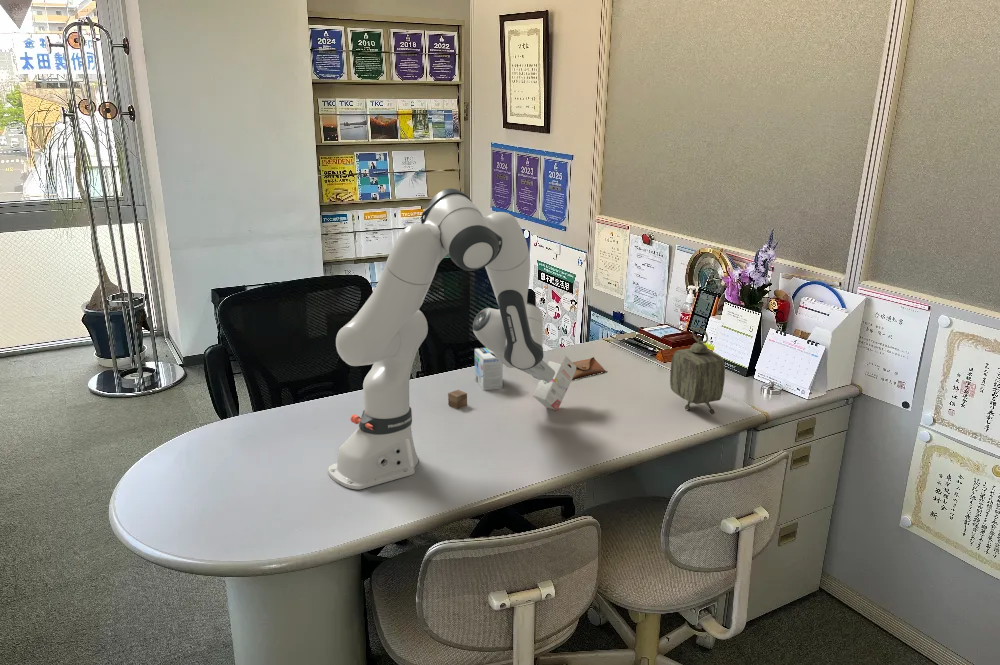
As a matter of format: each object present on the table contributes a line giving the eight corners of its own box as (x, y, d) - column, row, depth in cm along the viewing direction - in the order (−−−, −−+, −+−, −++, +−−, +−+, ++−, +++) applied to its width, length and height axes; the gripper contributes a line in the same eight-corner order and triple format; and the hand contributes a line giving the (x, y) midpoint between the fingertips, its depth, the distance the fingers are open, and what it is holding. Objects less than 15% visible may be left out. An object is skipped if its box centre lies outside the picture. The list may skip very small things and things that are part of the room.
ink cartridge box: (544, 406, 216) (564, 364, 220) (557, 411, 213) (578, 367, 217) (531, 395, 210) (553, 351, 213) (545, 399, 207) (566, 355, 210)
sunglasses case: (568, 382, 236) (562, 362, 237) (556, 386, 241) (550, 367, 242) (609, 371, 245) (603, 352, 246) (597, 376, 251) (591, 358, 252)
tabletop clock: (721, 415, 210) (729, 333, 202) (695, 420, 207) (702, 337, 199) (690, 398, 223) (697, 320, 215) (666, 402, 219) (671, 323, 212)
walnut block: (457, 409, 214) (456, 396, 213) (448, 405, 217) (448, 393, 216) (467, 405, 217) (467, 393, 216) (458, 401, 220) (458, 389, 219)
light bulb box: (474, 379, 238) (473, 348, 235) (493, 377, 240) (493, 346, 237) (483, 390, 229) (482, 358, 225) (503, 388, 231) (503, 356, 227)
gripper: (544, 352, 192) (569, 378, 201) (497, 332, 207) (523, 358, 216) (530, 371, 191) (557, 397, 199) (485, 350, 206) (511, 375, 215)
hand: (539, 376), depth 208 cm, fingers closed
